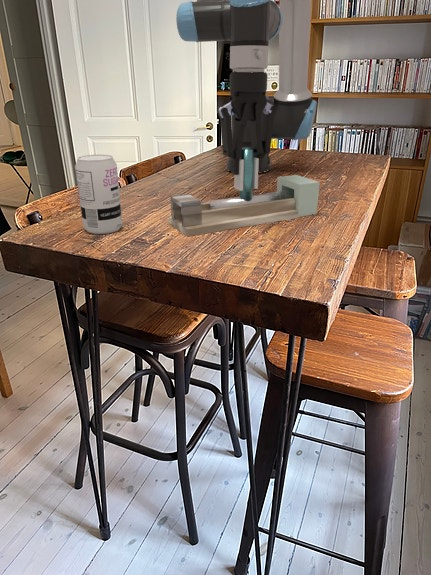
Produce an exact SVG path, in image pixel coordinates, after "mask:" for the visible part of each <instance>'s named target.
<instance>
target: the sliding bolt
mask: <svg viewBox="0 0 431 575" xmlns="http://www.w3.org/2000/svg"><path fill="white" fill-rule="evenodd" d="M240 159H243V160H244V174H243V190H242V191H240V190H238V196H237V197H235V196H234V197H230V198H221V199H215V200H210V201H208V202H209V204H208V209H209V210H213V209H220V208H227V207H234V206H241V205H248V204H255V203H262V202H268V201H275V200H282V199H289V198H292V195H291V193H290V191H288V190H286V191H279V192H277V191H272V192H267V193H266V192H265V193H258V194H253V190H254V188H253V161H254V148H242V151H241V157H240Z"/></svg>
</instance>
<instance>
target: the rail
mask: <svg viewBox="0 0 431 575" xmlns="http://www.w3.org/2000/svg"><path fill="white" fill-rule="evenodd" d="M209 202H210V201H207V202H202V200H200V199H198V198H196V197H194V196H193V195H191V194H189V193H182V194H175V195H170V212H171V214H170V216H168V221H169V223H168V224H170V225H171V226H172V227H174V228H175V229H176V230H178V231H179V232H180V233H182V234H183V235H185V236H187V237H191V236H199V235H203V234H204V235H205V234H210V233H215V232H216V233H217V232H222V231H229V230H234V229H235V230H236V229H240V228H245V227H252V226H257V225H262V224H264V225H265V224H270V223H275V222H281V221H286V220H287V221H288V220H292V219H297V218H299V217H298V211H296V210H295V199H293V198H289V199H282V200H275V201H268V202H262V203H255V204H248V205H241V206H234V207H227V208H220V209H213V210H209V209H208V204H209Z"/></svg>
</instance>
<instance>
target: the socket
mask: <svg viewBox="0 0 431 575" xmlns="http://www.w3.org/2000/svg"><path fill="white" fill-rule="evenodd" d="M276 178H277V180H276V192H279V191H286V190H288V191H290V193H291V195H292V198H293V199H295V210H296V211H298V218H300V217H306V216H312V214H313V215H317V214H318V203H319V192H320V181H319V180H318V181H317V180H314V179H312V178H308V177H305V176H301V175H298V174H292V175H285V176H277V177H276Z"/></svg>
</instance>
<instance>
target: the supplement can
mask: <svg viewBox="0 0 431 575" xmlns="http://www.w3.org/2000/svg"><path fill="white" fill-rule="evenodd" d="M117 165H118V164H117V162H116V161H115V159H114V158H113V155H110V154H86V155H82V156H77V158H76V163H75V165H74V166H75V168H74V169H75V175H76V183H77V190H78V197H79V206H80V211H81V212H80V213H81V219H82V220H81V221H82V227H83V229H84V230H86V232H88V233H90V234H94V235H105V234H112V233H115V232H118V231H119V230H120V229H121V228H122V226H123V224H124V223H123V217H122V216H123V215H122V204H121V203H122V202H121V197H120V185H119V176H118V166H117Z"/></svg>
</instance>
